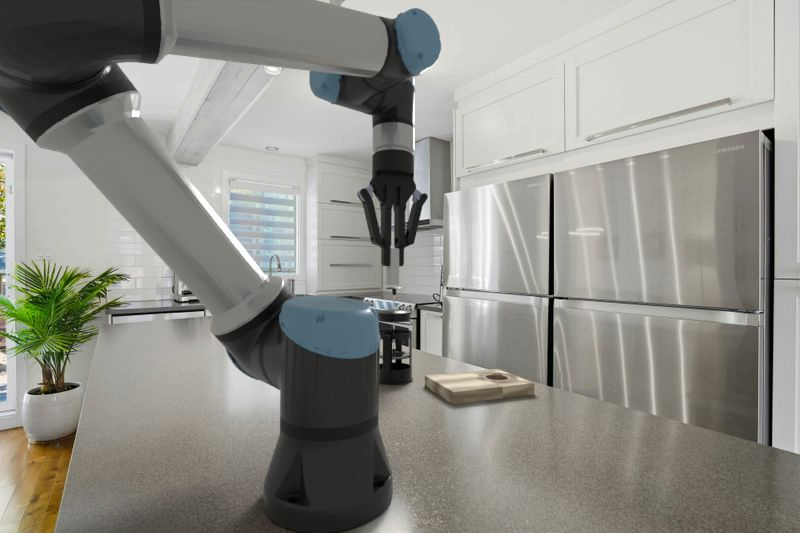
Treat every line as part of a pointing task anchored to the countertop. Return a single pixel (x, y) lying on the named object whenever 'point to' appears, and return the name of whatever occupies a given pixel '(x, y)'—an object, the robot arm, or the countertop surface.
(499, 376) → the ball
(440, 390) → the cutting board
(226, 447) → the countertop surface
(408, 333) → the french press
